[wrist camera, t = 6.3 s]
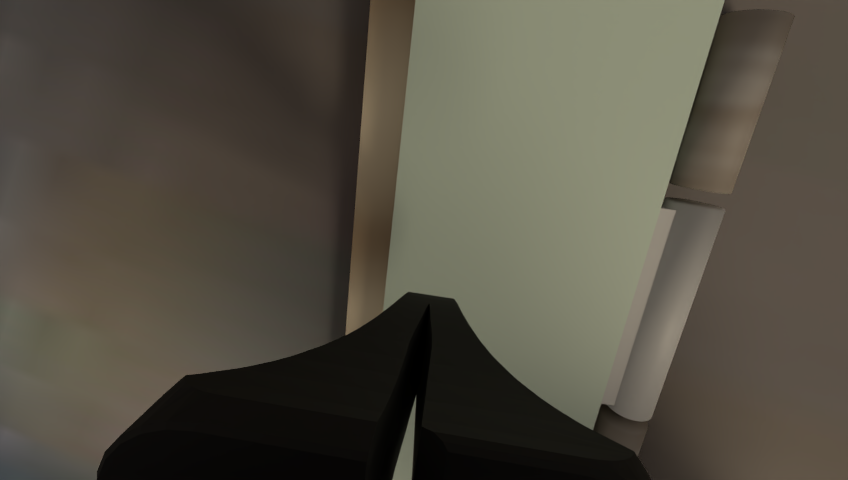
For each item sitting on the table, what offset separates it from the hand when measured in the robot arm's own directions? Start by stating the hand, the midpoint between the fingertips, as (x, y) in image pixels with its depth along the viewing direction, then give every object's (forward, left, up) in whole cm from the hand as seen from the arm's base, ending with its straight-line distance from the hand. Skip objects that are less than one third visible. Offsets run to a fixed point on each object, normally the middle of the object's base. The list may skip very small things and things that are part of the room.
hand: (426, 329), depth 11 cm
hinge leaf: (0, -3, -4) cm, 5 cm away
